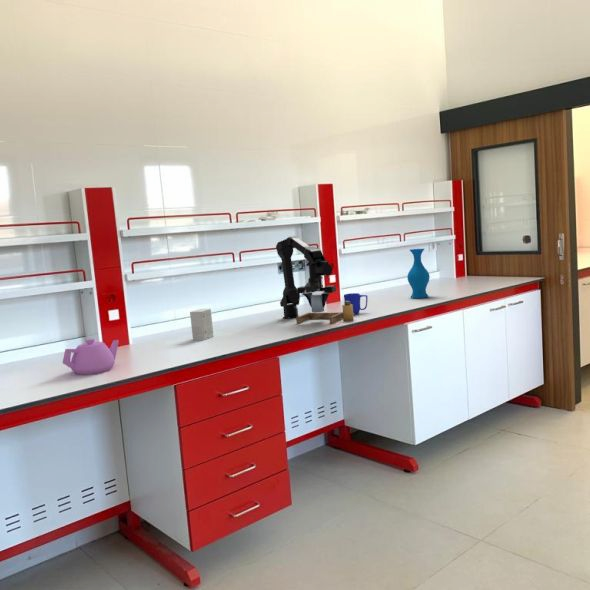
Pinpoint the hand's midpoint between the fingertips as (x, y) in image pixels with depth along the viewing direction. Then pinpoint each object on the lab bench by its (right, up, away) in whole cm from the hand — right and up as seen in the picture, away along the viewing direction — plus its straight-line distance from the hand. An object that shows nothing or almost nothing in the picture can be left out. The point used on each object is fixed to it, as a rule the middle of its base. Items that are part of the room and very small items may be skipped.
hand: (317, 307), depth 296 cm
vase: (+61, +4, +57) cm, 84 cm away
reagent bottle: (+15, -6, -2) cm, 16 cm away
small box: (-53, -14, -19) cm, 58 cm away
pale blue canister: (+1, -2, +1) cm, 2 cm away
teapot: (-86, -23, -68) cm, 112 cm away
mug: (+21, -4, +18) cm, 27 cm away
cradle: (+1, -7, +2) cm, 7 cm away
